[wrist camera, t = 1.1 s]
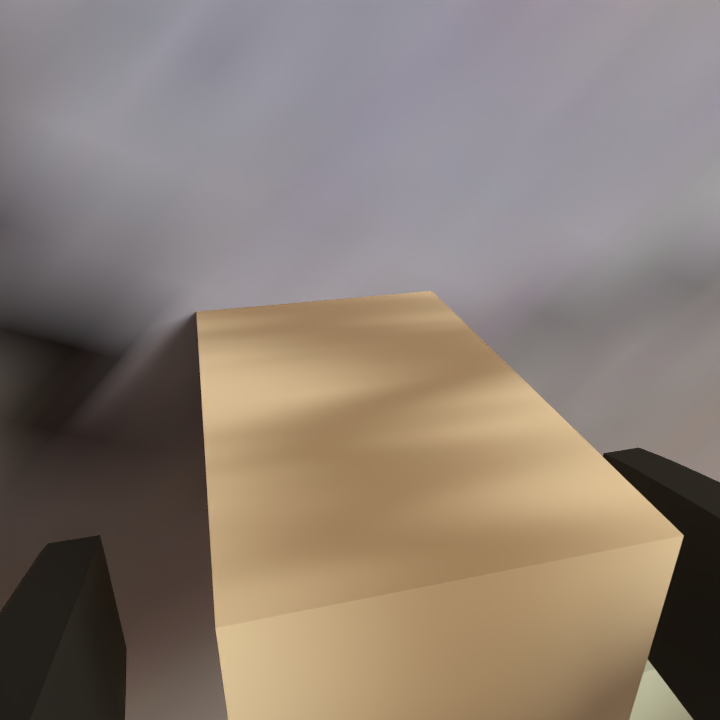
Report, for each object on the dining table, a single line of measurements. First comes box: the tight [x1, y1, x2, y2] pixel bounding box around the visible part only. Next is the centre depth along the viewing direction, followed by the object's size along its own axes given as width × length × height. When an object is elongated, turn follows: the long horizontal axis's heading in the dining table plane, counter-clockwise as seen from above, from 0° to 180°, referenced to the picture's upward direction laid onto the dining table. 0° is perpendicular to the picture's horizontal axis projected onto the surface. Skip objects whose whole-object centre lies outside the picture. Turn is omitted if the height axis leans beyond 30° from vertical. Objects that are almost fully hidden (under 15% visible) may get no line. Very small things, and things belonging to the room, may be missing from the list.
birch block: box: [196, 291, 684, 720], centre depth 10 cm, size 4×4×7 cm
